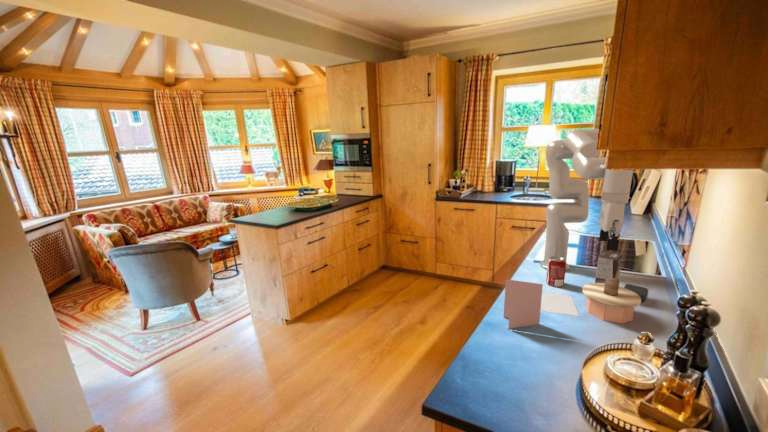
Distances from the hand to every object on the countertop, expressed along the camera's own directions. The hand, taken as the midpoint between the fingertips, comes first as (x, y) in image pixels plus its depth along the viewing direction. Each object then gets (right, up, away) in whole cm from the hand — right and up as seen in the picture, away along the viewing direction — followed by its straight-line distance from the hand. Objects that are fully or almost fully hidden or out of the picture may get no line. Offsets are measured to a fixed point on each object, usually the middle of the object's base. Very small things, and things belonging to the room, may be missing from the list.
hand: (607, 245), depth 114 cm
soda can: (-5, -19, +26) cm, 33 cm away
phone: (+22, -21, +17) cm, 35 cm away
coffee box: (+11, -21, +18) cm, 29 cm away
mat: (-14, -23, +11) cm, 29 cm away
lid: (+1, -18, +1) cm, 18 cm away
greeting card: (-32, -27, -4) cm, 42 cm away
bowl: (+2, -25, +2) cm, 25 cm away
